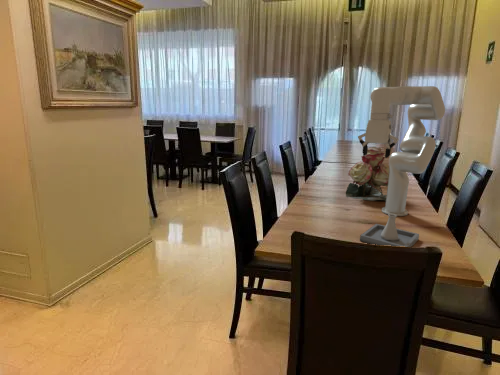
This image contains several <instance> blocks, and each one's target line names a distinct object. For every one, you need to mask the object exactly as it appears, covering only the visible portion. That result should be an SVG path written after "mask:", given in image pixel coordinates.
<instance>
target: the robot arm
mask: <svg viewBox="0 0 500 375" xmlns="http://www.w3.org/2000/svg"><path fill="white" fill-rule="evenodd" d="M370 101H371V106H370V107H371V108H370V109H371V110H370V119H369V120H368V122H367V124H366V129H365V132H364V133H363V134H360V135H358V136H357V138H358V142H359V143H360V145H361V146H362V154H363V155H364V156H365V155H367V150H368V148H369V146H368V145H369V144H378V145H379V144H380V145H385V147H386V148H385V152H384V153H385V154H384V157H385V158H384V159H388V166H389V180H388V187H387V189H386V195H387V196H386V201H385V205H384V206H383V207H381V212H382V213H383V214H386V215H388V214H394V215H396V216H397V217H404V216H405V217H406V216H408V214H409V211H408V210H407V209H406V207H407V198H408V192H409V191H408V190H409V184H410V183H409V182H410V180H409V176H408V174H415V175H417V174H418V175H419V174H423V173H424V172H425V171H426V170H427V167H428V165H429V164H430V161H431V159H432V157H433V155H434V152H435V150H436V146H437V144H436V140H435V138H434V137H432V136H426V133H427V129H426V126H425V125H424V123H423V122H422V121H421V120H423V121H439V120H441V119H443V117H445V112H446V108H445V106H446V105H445V104H444V99H443V97H442V93H441V91H440V89H439V88H438V87H437V86H433V85H432V86H431V85H430V86H427V85H422V86H419V85H418V86H417V85H415V86H413V85H411V86H410V85H409V86H408V85H403V86H381V87H374V88H373V90H372V91H371V92H370ZM408 105H409V106H408ZM391 106H408V108H407V120H408V122H407V123H408V128H407V130H406V132H405V133H404V136H403V138H402V140H401V142H400V144H399V149H400V151H394V152H393V153H391V151H392V150H391V149H392V148H393V147H394V146H396V144H397V143H398V141H399V138H398V137H396V136H394V135H393V134H392V122H391V120H390V119H393V114H391V113H390V112H391ZM363 138H364V140H363ZM392 140H393V141H392ZM391 141H392V143H391ZM363 155H362V156H363Z"/></svg>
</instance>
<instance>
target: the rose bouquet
mask: <svg viewBox="0 0 500 375" xmlns="http://www.w3.org/2000/svg"><path fill="white" fill-rule="evenodd" d="M382 150H383V148H382V147H381V146H379V147H376V146H370V147H369V146H368V150H367V155H365V156H364V155H361V156H360V157H361V160H360V161H358V162H356V163H355V164H354V165H353V166H351V167H350V169H349V170H348V173H347V176H348V177H350V178H351V180H352V182H349V183H348V186H347V187H346V190H345V197H347V198H349V199H350V198H351V199H361V200H364V201H369V202H373V201H384V202H386V197H387V194H385V195H384V193H383V189H382V187H385V188H386V187H387V188H388V180H389V164H387V163H384V160H385V159H386V158H385V152H384V151H382Z"/></svg>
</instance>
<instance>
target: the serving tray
mask: <svg viewBox="0 0 500 375" xmlns="http://www.w3.org/2000/svg"><path fill="white" fill-rule="evenodd" d="M385 226H386V225H384V224H379V223H375V224H374V225H372V226H371V227H370V228H368V229H367V230H365V231H363V233H361V235H360V236H359V242H363V243H366V244H369V243H370V244H369V245H372V244H377V245H391V246H405V247H411V246H412V247H413V246H414V245H415V244H416V243H417V242H418V241H419V238H420V233H416V232H412V231H409V230H408V231H407V230H404V229H400V228H397V227H396V229H397V234H398V237H399V240H395V241H391V240H385V239H383V238H381V233H382V231H383V230H384V228H385ZM412 247H411V248H412Z"/></svg>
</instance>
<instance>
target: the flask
mask: <svg viewBox="0 0 500 375" xmlns="http://www.w3.org/2000/svg"><path fill="white" fill-rule="evenodd" d="M387 215H388V220H387V222H386V225H384V226H385V228H384V230H383V231H382V233H381V238H383V239H385V240H391V241H395V240H399V237H398V234H397V229H398V228H397V226H396V225H397V223H396V219H397V217H398V216H396V215H394V214H387ZM396 228H397V229H396Z"/></svg>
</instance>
